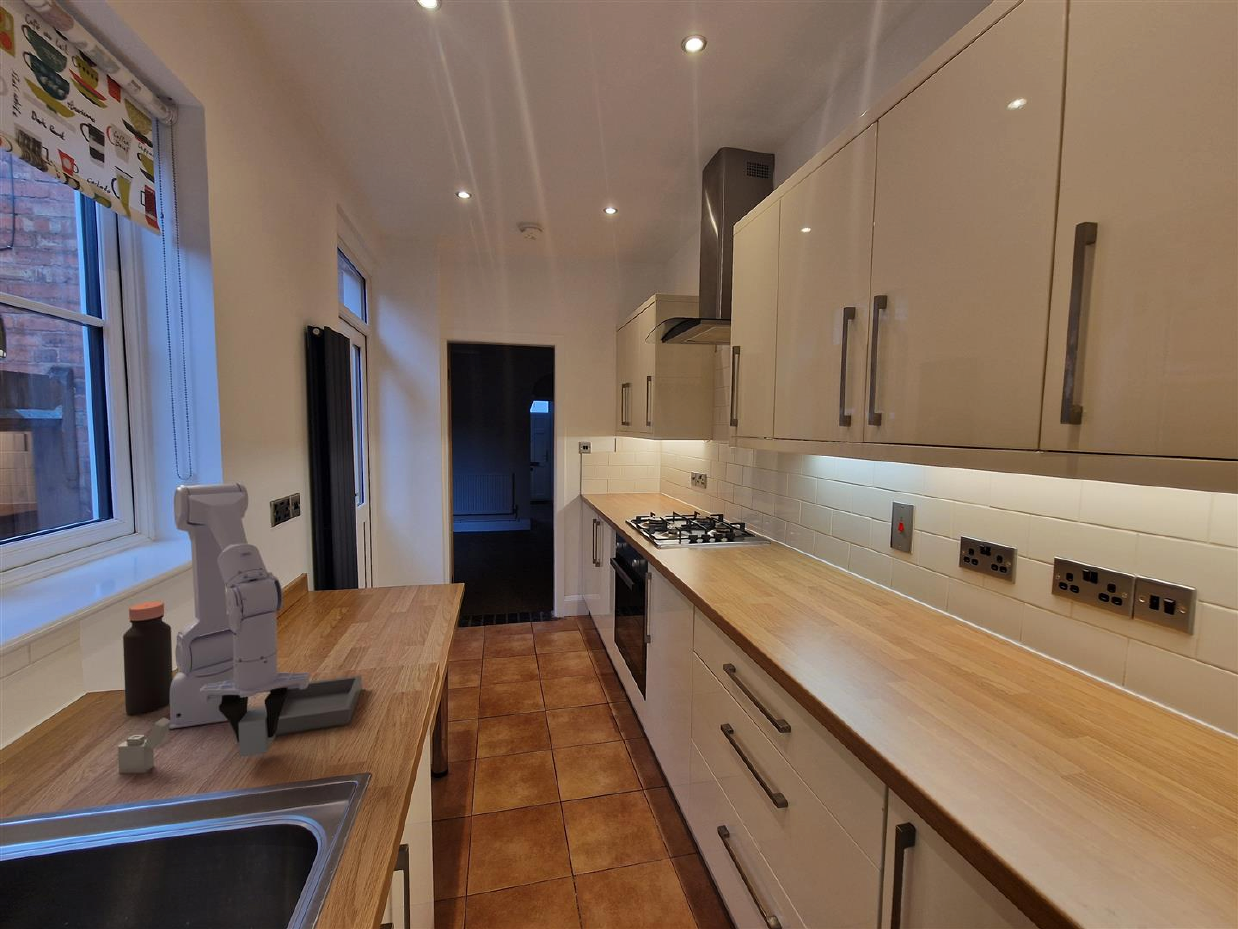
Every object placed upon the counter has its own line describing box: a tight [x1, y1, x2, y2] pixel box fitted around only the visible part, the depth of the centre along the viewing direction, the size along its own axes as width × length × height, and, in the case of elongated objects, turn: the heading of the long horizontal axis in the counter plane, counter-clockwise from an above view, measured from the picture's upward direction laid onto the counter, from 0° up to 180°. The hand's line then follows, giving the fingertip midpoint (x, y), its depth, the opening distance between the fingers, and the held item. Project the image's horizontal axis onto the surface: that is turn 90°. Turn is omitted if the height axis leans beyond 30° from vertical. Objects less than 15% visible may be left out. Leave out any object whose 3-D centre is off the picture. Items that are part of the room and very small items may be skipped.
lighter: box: [117, 717, 172, 774], centre depth 79 cm, size 7×2×8 cm, turn 91°
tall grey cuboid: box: [238, 705, 276, 758], centre depth 81 cm, size 4×4×6 cm
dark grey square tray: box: [275, 675, 363, 737], centre depth 96 cm, size 14×14×3 cm
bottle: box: [122, 601, 174, 715], centre depth 97 cm, size 7×7×20 cm
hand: (257, 736), depth 81 cm, fingers closed on tall grey cuboid, 3 cm apart
